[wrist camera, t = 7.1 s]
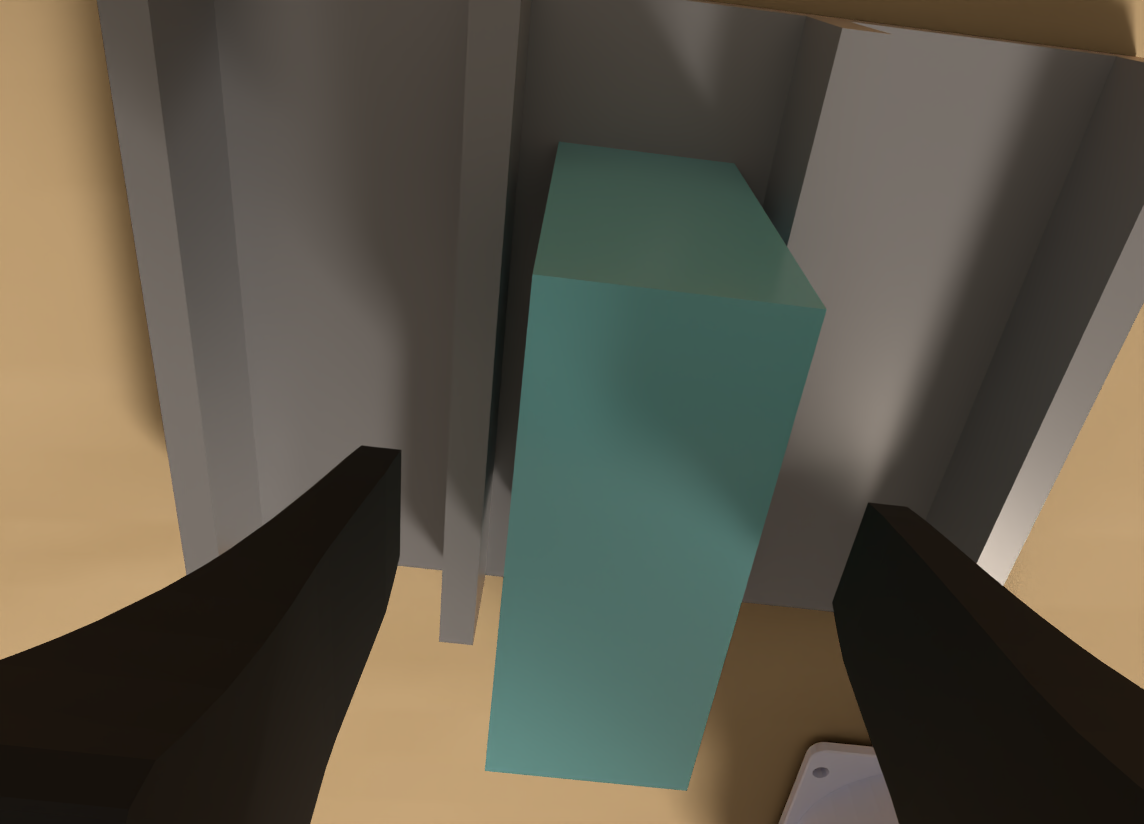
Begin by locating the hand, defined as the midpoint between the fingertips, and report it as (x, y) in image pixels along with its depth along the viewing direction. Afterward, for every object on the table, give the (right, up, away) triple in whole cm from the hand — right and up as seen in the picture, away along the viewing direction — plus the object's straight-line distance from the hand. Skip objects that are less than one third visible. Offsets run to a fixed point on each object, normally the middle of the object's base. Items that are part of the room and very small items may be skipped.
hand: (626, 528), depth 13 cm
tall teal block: (0, +3, +6) cm, 7 cm away
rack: (0, +4, +7) cm, 8 cm away
